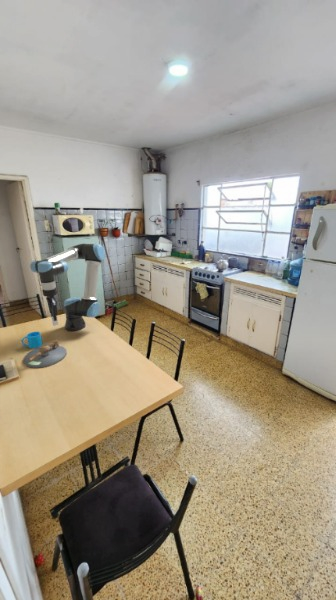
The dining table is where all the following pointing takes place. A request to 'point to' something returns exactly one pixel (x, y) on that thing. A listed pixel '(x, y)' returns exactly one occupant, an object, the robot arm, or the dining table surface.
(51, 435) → the dining table surface
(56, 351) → the dial plate
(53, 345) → the dial arm
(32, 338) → the mug
